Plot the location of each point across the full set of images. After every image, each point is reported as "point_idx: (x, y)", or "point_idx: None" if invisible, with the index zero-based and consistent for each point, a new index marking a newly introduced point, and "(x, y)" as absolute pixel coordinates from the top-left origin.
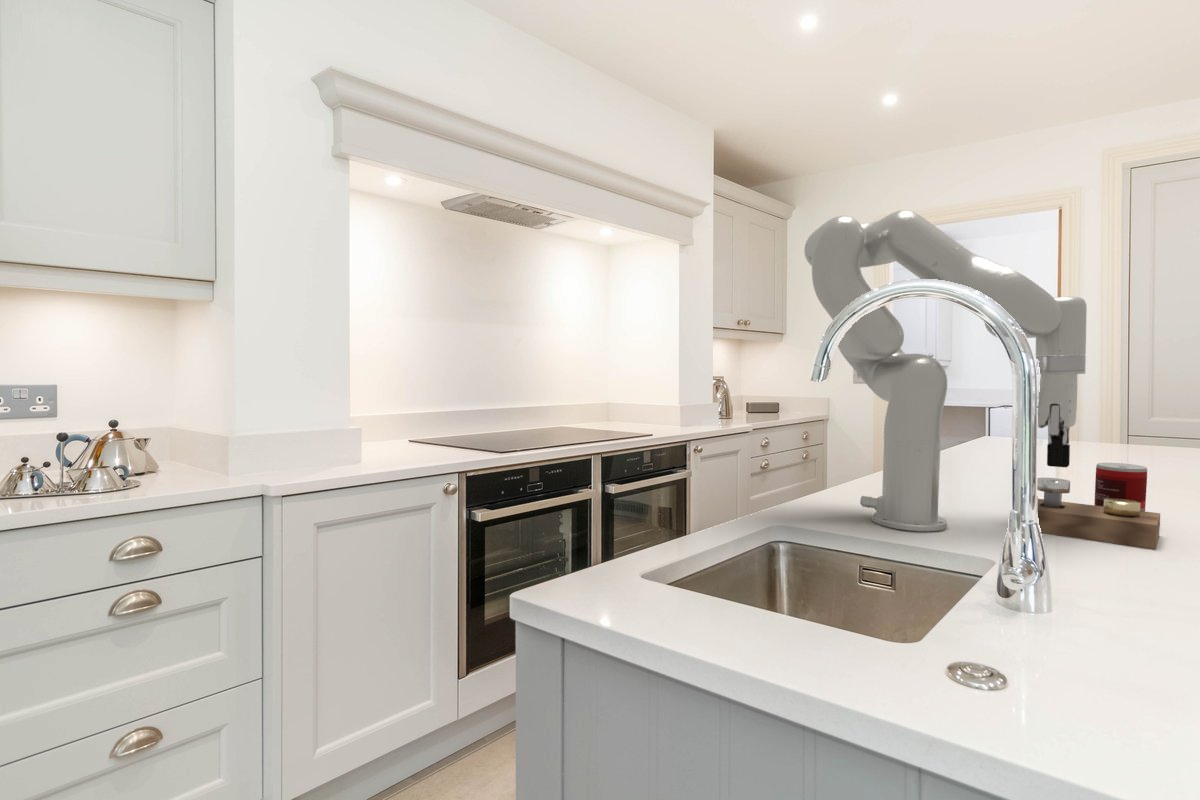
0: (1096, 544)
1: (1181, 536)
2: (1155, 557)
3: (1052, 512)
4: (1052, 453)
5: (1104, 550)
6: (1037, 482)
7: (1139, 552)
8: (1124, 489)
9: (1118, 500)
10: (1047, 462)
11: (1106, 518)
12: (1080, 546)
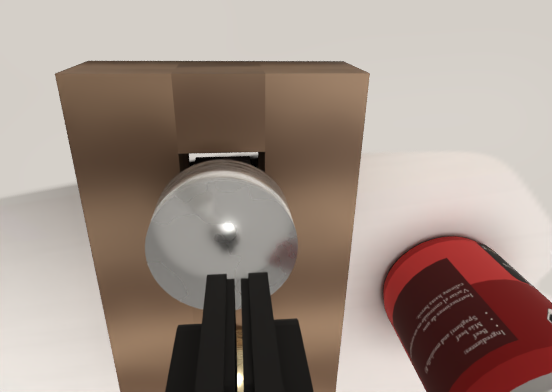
0: (77, 286)
1: (350, 388)
2: (51, 384)
3: (85, 212)
4: (170, 369)
5: (16, 309)
6: (193, 178)
7: (75, 359)
8: (427, 388)
9: (241, 389)
10: (207, 285)
11: (114, 347)
12: (6, 263)
